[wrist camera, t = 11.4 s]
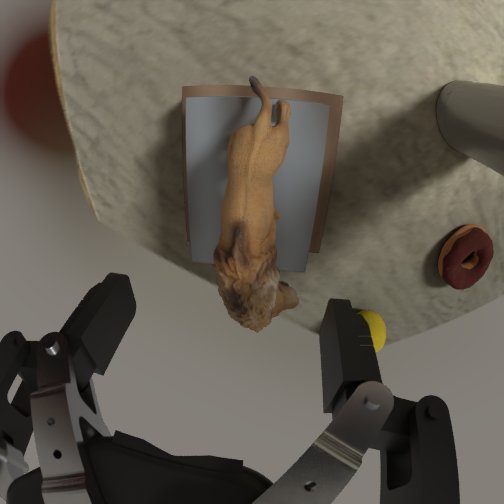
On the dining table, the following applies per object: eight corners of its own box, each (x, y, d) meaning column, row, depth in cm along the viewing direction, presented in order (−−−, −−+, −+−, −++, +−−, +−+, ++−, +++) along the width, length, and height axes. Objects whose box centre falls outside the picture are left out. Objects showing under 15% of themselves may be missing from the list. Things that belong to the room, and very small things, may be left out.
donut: (486, 213, 28) (501, 226, 25) (482, 266, 33) (493, 281, 30) (434, 232, 31) (447, 247, 28) (434, 285, 36) (444, 302, 32)
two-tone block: (332, 95, 24) (358, 97, 16) (314, 230, 33) (324, 283, 24) (197, 86, 25) (160, 86, 16) (199, 220, 34) (172, 268, 25)
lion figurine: (295, 259, 23) (299, 343, 16) (233, 260, 24) (212, 341, 16) (290, 75, 16) (299, 58, 8) (211, 81, 16) (159, 75, 9)
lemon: (360, 294, 38) (372, 336, 31) (385, 306, 38) (399, 346, 32) (337, 318, 40) (344, 359, 34) (363, 328, 41) (372, 368, 35)
